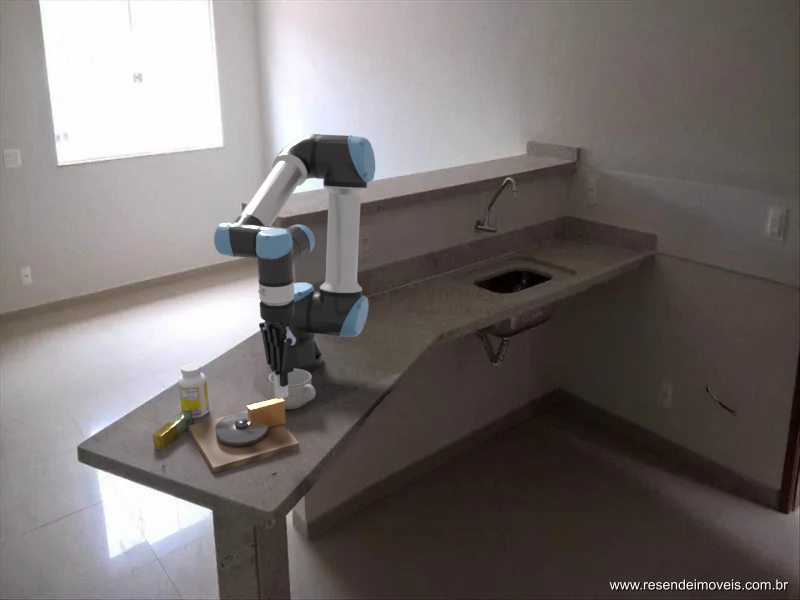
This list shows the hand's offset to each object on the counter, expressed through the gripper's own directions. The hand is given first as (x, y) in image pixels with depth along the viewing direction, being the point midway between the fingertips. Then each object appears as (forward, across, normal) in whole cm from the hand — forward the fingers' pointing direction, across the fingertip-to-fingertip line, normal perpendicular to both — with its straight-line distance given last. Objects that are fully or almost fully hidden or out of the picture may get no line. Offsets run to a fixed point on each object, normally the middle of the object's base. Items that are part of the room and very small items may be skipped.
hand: (281, 396), depth 168 cm
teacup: (+12, -13, +11) cm, 21 cm away
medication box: (+12, -18, -19) cm, 29 cm away
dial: (+10, -6, -5) cm, 13 cm away
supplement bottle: (+12, -26, -10) cm, 30 cm away
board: (+12, -7, -7) cm, 15 cm away
